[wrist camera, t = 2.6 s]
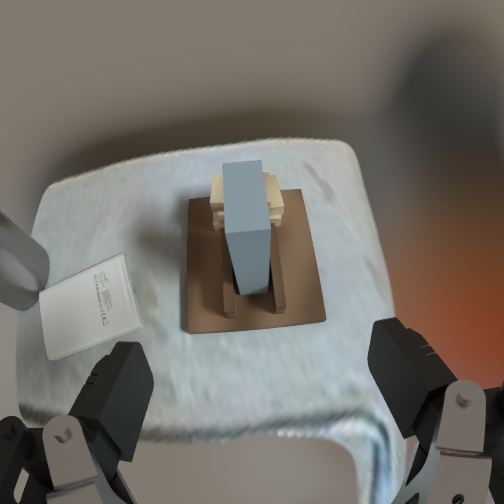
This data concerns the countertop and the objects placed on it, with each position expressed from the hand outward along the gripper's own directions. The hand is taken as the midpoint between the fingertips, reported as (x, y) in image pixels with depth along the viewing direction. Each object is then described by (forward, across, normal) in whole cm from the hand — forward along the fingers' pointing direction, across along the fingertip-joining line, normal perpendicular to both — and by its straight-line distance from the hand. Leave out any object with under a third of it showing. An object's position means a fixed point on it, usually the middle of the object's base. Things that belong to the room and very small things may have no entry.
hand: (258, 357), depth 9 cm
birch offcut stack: (+21, 0, -1) cm, 21 cm away
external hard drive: (+16, +18, +7) cm, 25 cm away
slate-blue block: (+16, 0, +4) cm, 17 cm away
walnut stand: (+18, 0, +3) cm, 19 cm away
